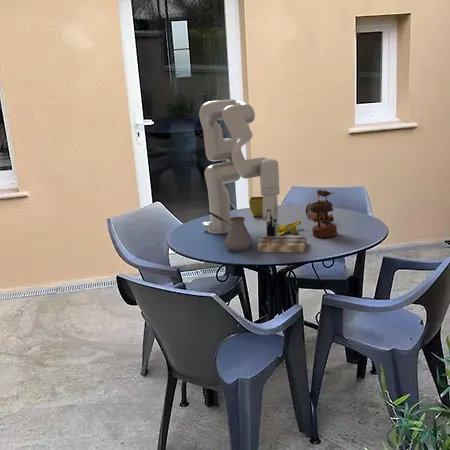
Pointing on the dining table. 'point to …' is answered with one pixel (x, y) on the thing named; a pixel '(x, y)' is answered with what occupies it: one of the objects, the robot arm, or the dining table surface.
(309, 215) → the tin
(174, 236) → the dining table surface
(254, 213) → the flower pot
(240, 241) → the coffee pot
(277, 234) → the fader
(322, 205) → the music box
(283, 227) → the yellow action figure
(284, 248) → the console
